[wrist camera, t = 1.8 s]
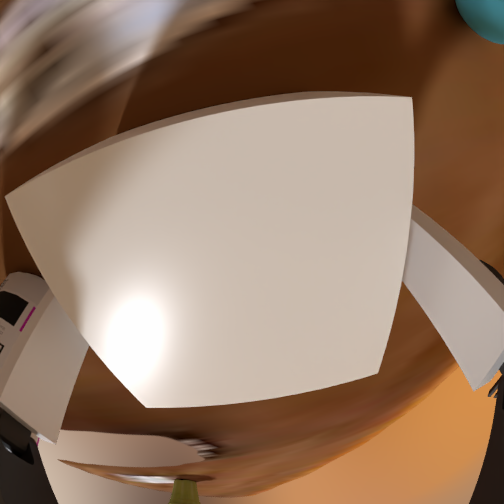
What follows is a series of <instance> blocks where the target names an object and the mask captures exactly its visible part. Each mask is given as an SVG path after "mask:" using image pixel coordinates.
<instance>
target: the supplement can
mask: <svg viewBox="0 0 504 504" xmlns="http://www.w3.org/2000/svg"><path fill="white" fill-rule="evenodd" d="M48 290H49V286H48V284H47V283H46V281H45V280H43V279H42V278H40V277H38V276H37V275H33V274H29V273H22V272H15V273H10V274H9V275H8V276H7V278H6V279H5V280H4V281H3V283H2V284H1V285H0V370H1V368H2V366H3V364H4V362H5V360H6V358H7V357H8V355H9V353H10V351H11V349H12V347H13V345H14V344H15V342H16V340H17V338H18V337H19V335H20V333H21V332H22V330H23V328H24V327H25V325H26V323H27V322H28V320H29V318H30V317H31V315H32V314H33V312H34V310H35V309H36V307H37V306H38V304H39V303H40V301H41V300H42V298H43V297H44V295H45V294H46V293H47V291H48ZM31 437H32V438H33V439H34V440H35V441H36V444H37V446H38V442H39V437H38V436H36V435H35V434H33V433H31Z"/></svg>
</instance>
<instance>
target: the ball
mask: <svg viewBox="0 0 504 504" xmlns="http://www.w3.org/2000/svg"><path fill="white" fill-rule="evenodd" d="M455 2H456V6H457V8H458V11H459V13H460V15H461V16H462V18H463V19H464V21H465V22H466V23H467V24H468V26H469V27H470V28H471V29H472V30H473V31H475V32H476V33H477V34H479V35H480V36H481V37H483V38H485V39H487V40H489V41H491V42H494V43H499V44H504V0H455Z"/></svg>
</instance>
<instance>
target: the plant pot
mask: <svg viewBox="0 0 504 504" xmlns="http://www.w3.org/2000/svg"><path fill="white" fill-rule="evenodd" d="M168 504H200V502H199V497H198V491H197V485H196V482H194V481H189V480H179V479H177V480H175V481H174V486H173V491H172V496H171V499H170V502H169V503H168Z"/></svg>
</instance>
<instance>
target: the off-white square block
mask: <svg viewBox="0 0 504 504" xmlns="http://www.w3.org/2000/svg"><path fill="white" fill-rule="evenodd" d="M413 180H414V120H413V104H412V97H405V96H397V95H388V94H377V93H363V92H339V91H309V92H298V93H289V94H280V95H273V96H266V97H259V98H253V99H247V100H241V101H236V102H231V103H226V104H221V105H216V106H212V107H207V108H203V109H199V110H195V111H191V112H187V113H183V114H180V115H176V116H172V117H169V118H166V119H162V120H159V121H156V122H152V123H149V124H146V125H143V126H140V127H137V128H134V129H131V130H129V131H126V132H123V133H120V134H118V135H115V136H113V137H110V138H108V139H106V140H104V141H102V142H99V143H97V144H95V145H93V146H91V147H89V148H87V149H85V150H83V151H81V152H79V153H77V154H75V155H73V156H71V157H69V158H67V159H65V160H63V161H61V162H59V163H58V164H56V165H54V166H52V167H50V168H49V169H47V170H45V171H44V172H42V173H40V174H38V175H37V176H35V177H34V178H32V179H30V180H29V181H27V182H26V183H24V184H22V185H21V186H19V187H18V188H16V189H15V190H13V191H12V192H10V193H9V194H7V195H6V196H5V199H6V202H7V204H8V207H9V209H10V211H11V214H12V216H13V219H14V221H15V223H16V225H17V228H18V230H19V232H20V234H21V236H22V238H23V240H24V242H25V244H26V246H27V248H28V250H29V252H30V254H31V256H32V258H33V260H34V262H35V263H36V265H37V267H38V269H39V271H40V272H41V274H42V276H43V278H44V279H45V281H46V283H47V284H48V286H49V288H50V289H51V291H52V292H53V294H54V296H55V297H56V299H57V300H58V302H59V303H60V305H61V306H62V308H63V309H64V311H65V312H66V314H67V315H68V317H69V318H70V319H71V321H72V322H73V324H74V325H75V326H76V328H77V329H78V331H79V332H80V333H81V335H82V336H83V337H84V339H85V340H86V341H87V342H88V344H89V345H90V346H91V348H92V349H93V350H94V351H95V352H96V354H97V355H98V356H99V357H100V359H101V360H102V361H103V362H104V363H105V364H106V366H107V367H108V368H109V369H110V370H111V371H112V373H113V374H114V375H115V376H116V377H117V378H118V379H119V380H120V381H121V382H122V384H123V385H124V386H125V387H126V388H127V389H128V390H129V391H130V392H131V393H132V394H133V395H134V396H135V397H136V398H137V399H138V400H139V401H140V402H141V403H142V404H143V405H144V406H145V407H146V408H171V407H197V406H212V405H223V404H233V403H242V402H250V401H258V400H264V399H271V398H277V397H283V396H288V395H294V394H299V393H304V392H309V391H313V390H318V389H322V388H326V387H330V386H334V385H338V384H342V383H346V382H350V381H353V380H357V379H360V378H364V377H367V376H370V375H374V374H377V373H378V371H379V368H380V364H381V361H382V358H383V355H384V351H385V348H386V345H387V341H388V337H389V334H390V330H391V326H392V322H393V318H394V314H395V310H396V306H397V301H398V296H399V292H400V287H401V282H402V276H403V271H404V265H405V259H406V252H407V245H408V238H409V229H410V220H411V210H412V197H413Z"/></svg>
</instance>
